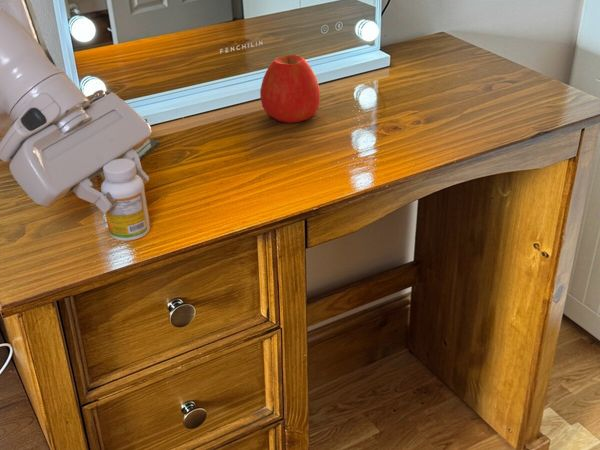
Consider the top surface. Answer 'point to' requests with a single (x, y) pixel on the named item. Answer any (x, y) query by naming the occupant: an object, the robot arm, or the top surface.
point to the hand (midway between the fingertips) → (127, 196)
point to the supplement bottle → (125, 201)
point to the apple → (290, 90)
